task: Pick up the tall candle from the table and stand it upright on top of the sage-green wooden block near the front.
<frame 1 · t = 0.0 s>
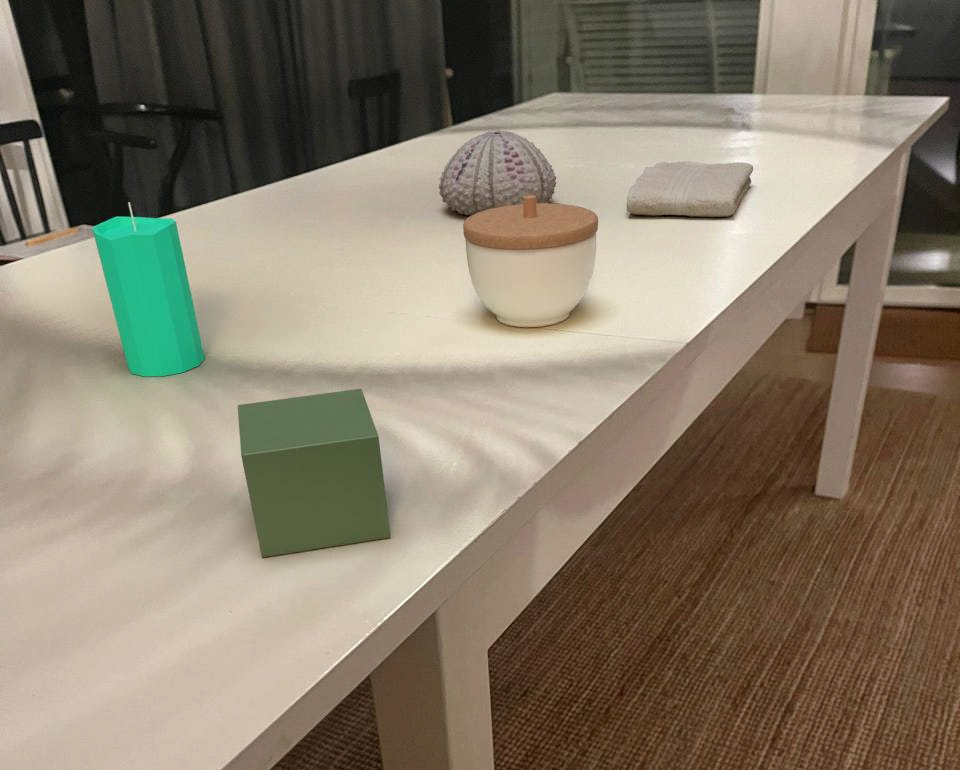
block: (320, 518, 59), on the table
sea urchin shell: (498, 210, 120), on the table
candle: (167, 365, 82), on the table
trinket box: (532, 318, 87), on the table
washcloth: (691, 202, 118), on the table
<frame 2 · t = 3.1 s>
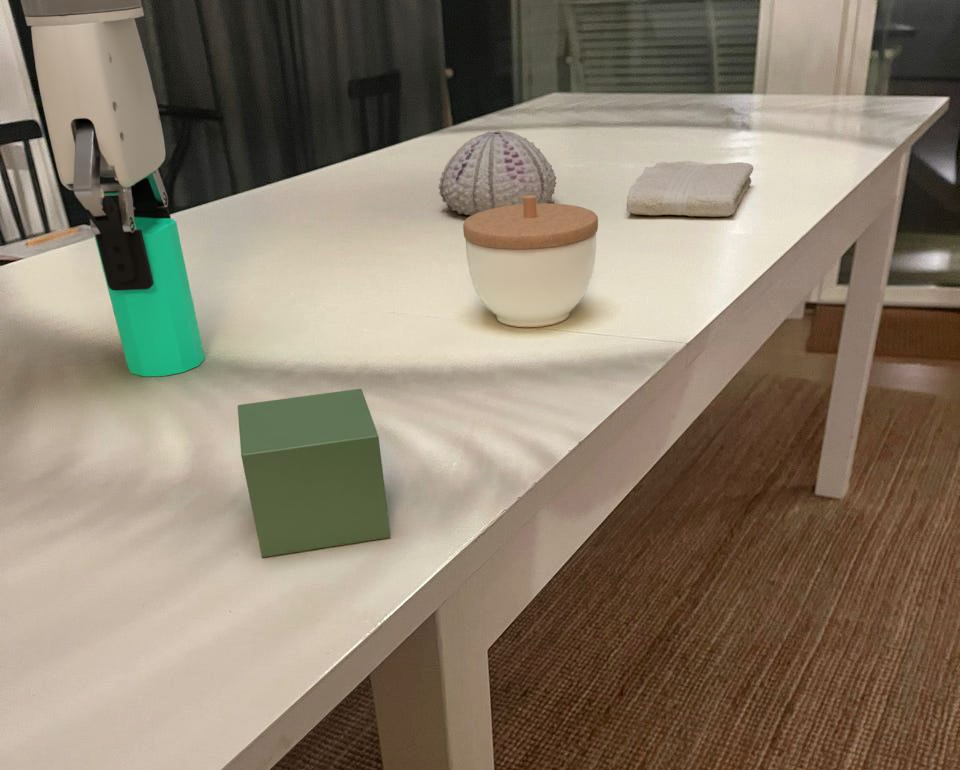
hand: (145, 273, 78), 7 cm above the table, tool pointing down, fingers closed on candle, 5 cm apart
candle: (167, 365, 82), on the table, touching gripper
everything else where it was.
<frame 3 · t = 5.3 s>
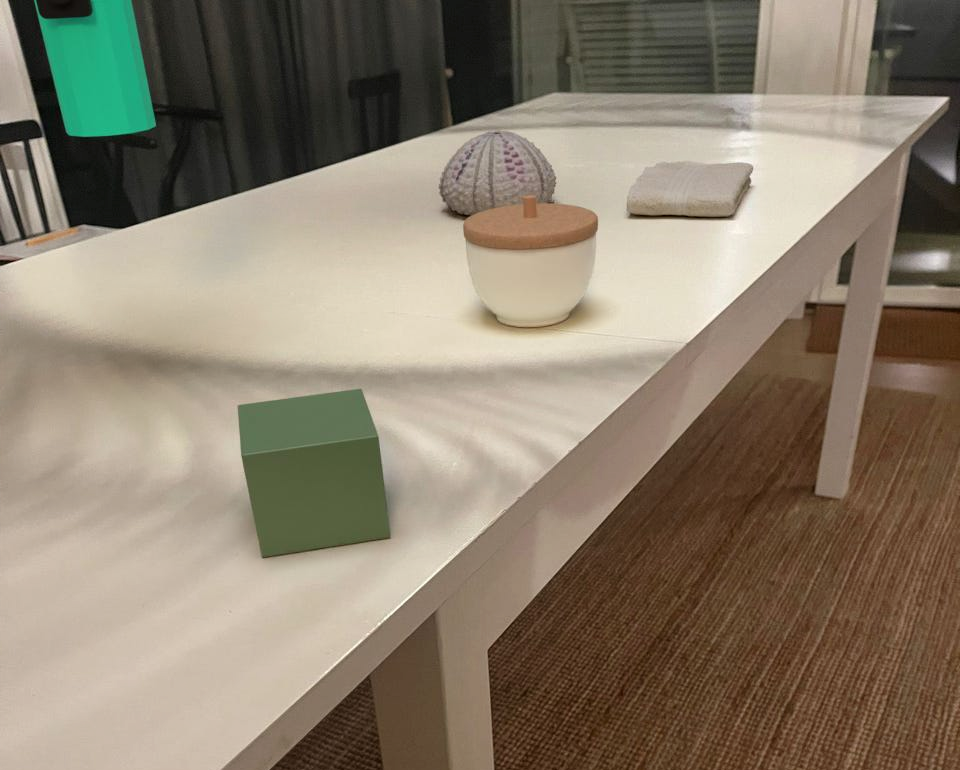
hand: (84, 10, 67), 24 cm above the table, tool pointing down, fingers closed on candle, 5 cm apart
candle: (112, 132, 71), point 17 cm above the table, touching gripper
everything else where it was.
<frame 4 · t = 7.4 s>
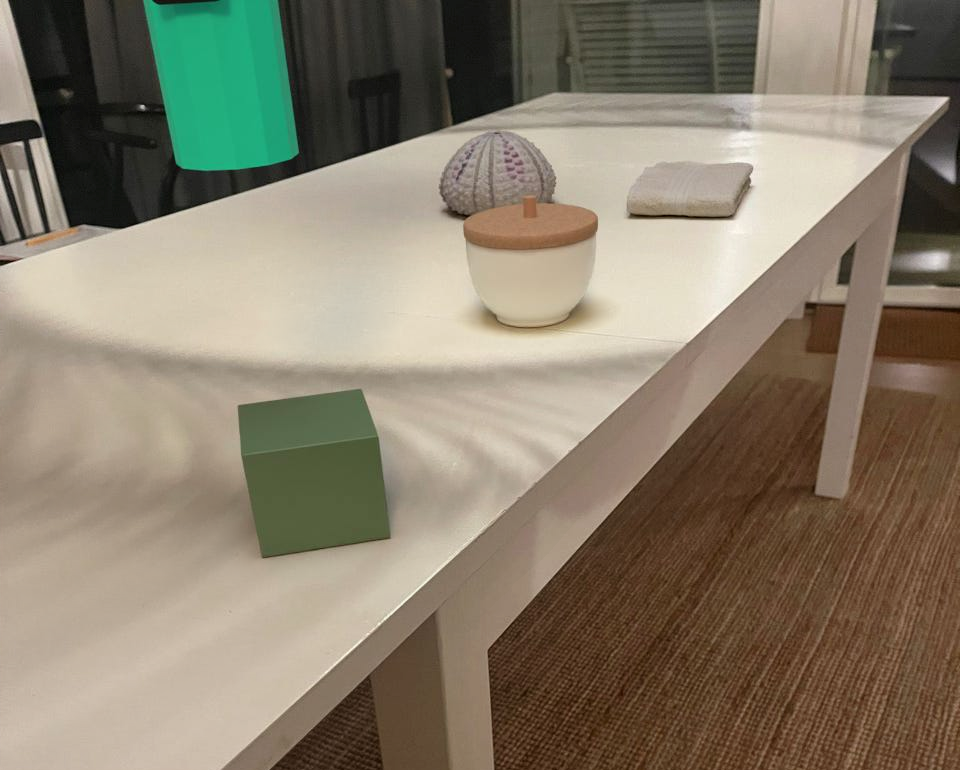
candle: (238, 162, 51), point 18 cm above the table, touching gripper
everything else where it was.
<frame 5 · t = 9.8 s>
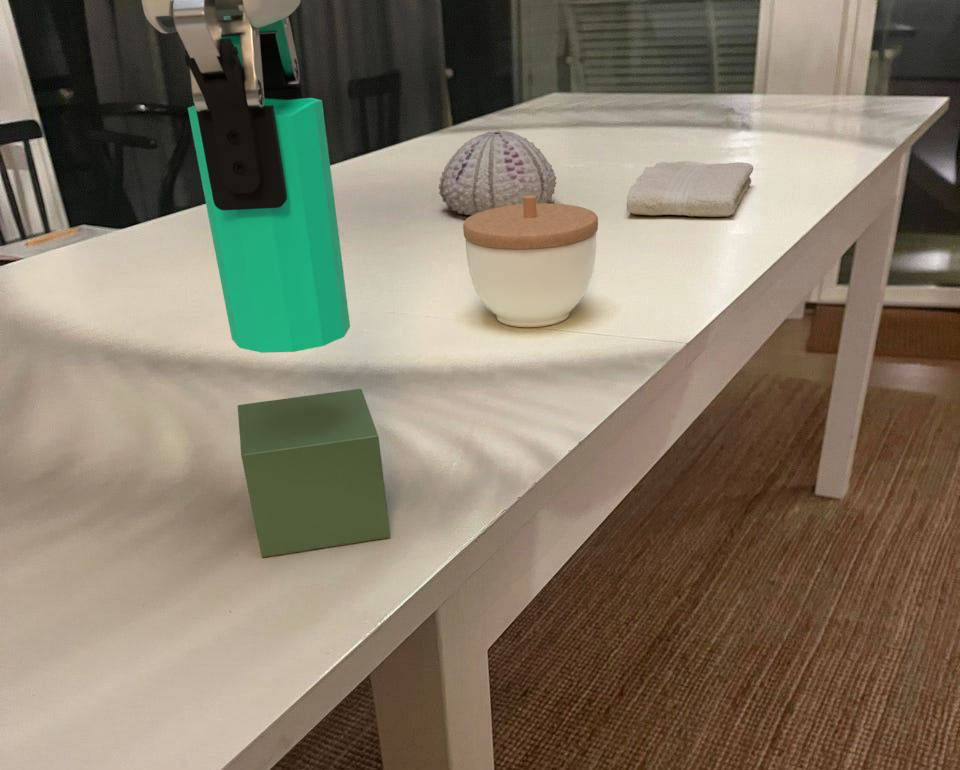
hand: (266, 187, 49), 18 cm above the table, tool pointing down, fingers closed on candle, 5 cm apart
candle: (292, 336, 53), point 10 cm above the table, touching gripper
everything else where it was.
when the fingers open (13 cm above the table, at t = 11.6 s): candle stays where it is, resting on block.
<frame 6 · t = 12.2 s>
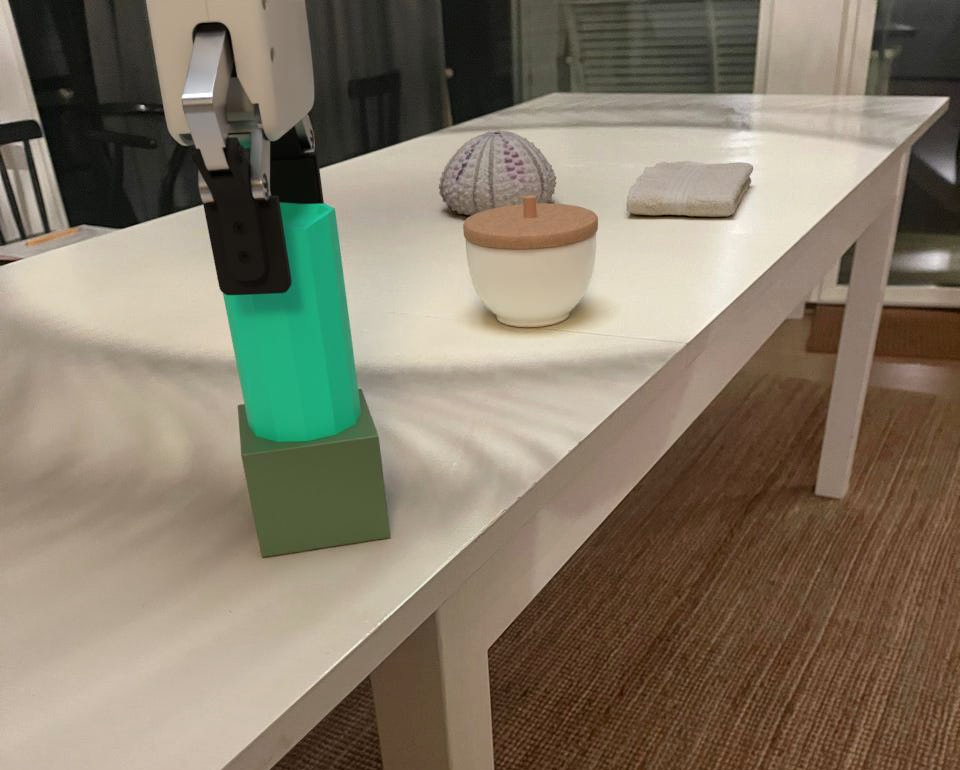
hand: (278, 262, 51), 14 cm above the table, tool pointing down, fingers open, 9 cm apart
block: (320, 518, 59), on the table, touching candle
candle: (305, 422, 56), point 6 cm above the table, touching block
everything else where it was.
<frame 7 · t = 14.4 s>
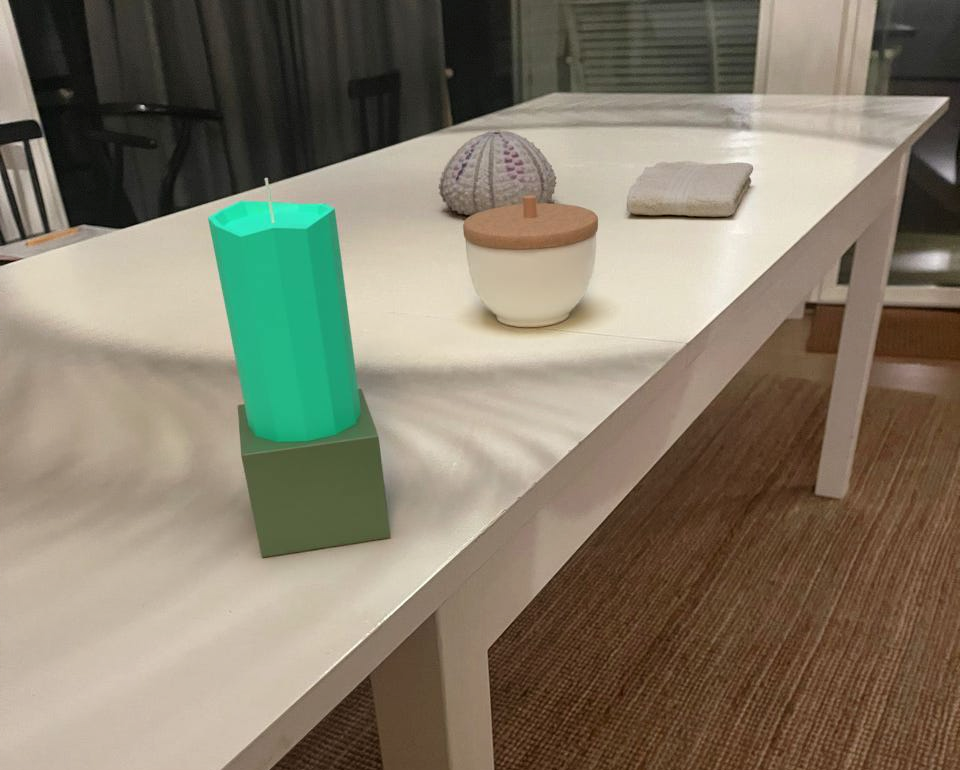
nothing on the table moved.
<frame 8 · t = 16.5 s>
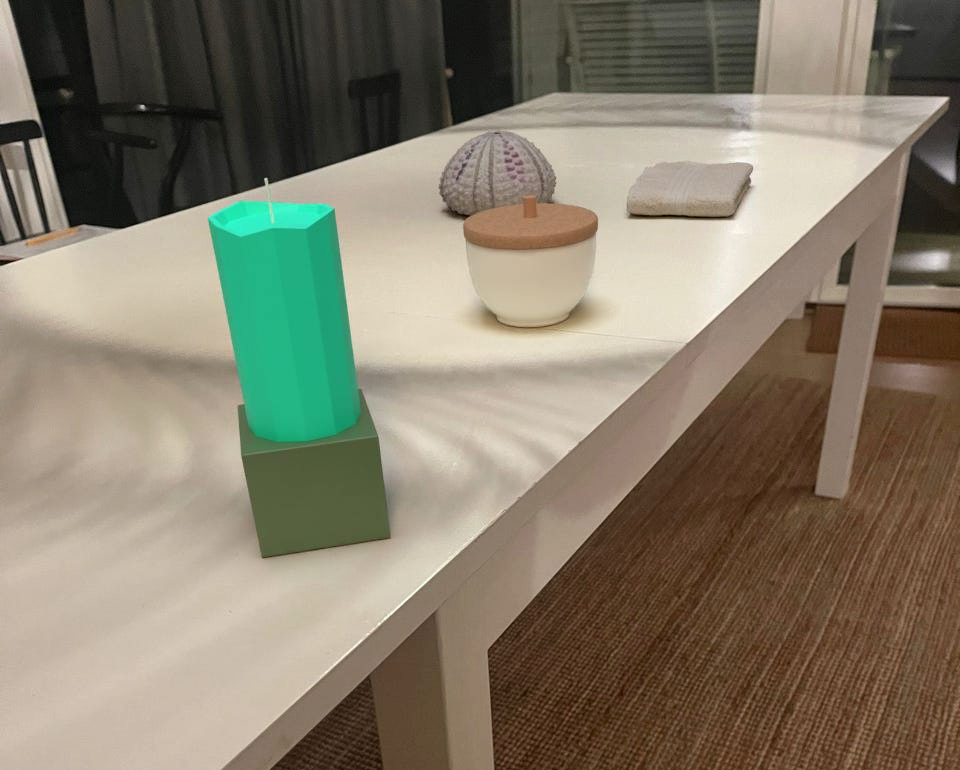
nothing on the table moved.
at the end: candle 0.0 cm off-centre on the block, point 5.8 cm above the block's base; candle tilted 0° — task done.
